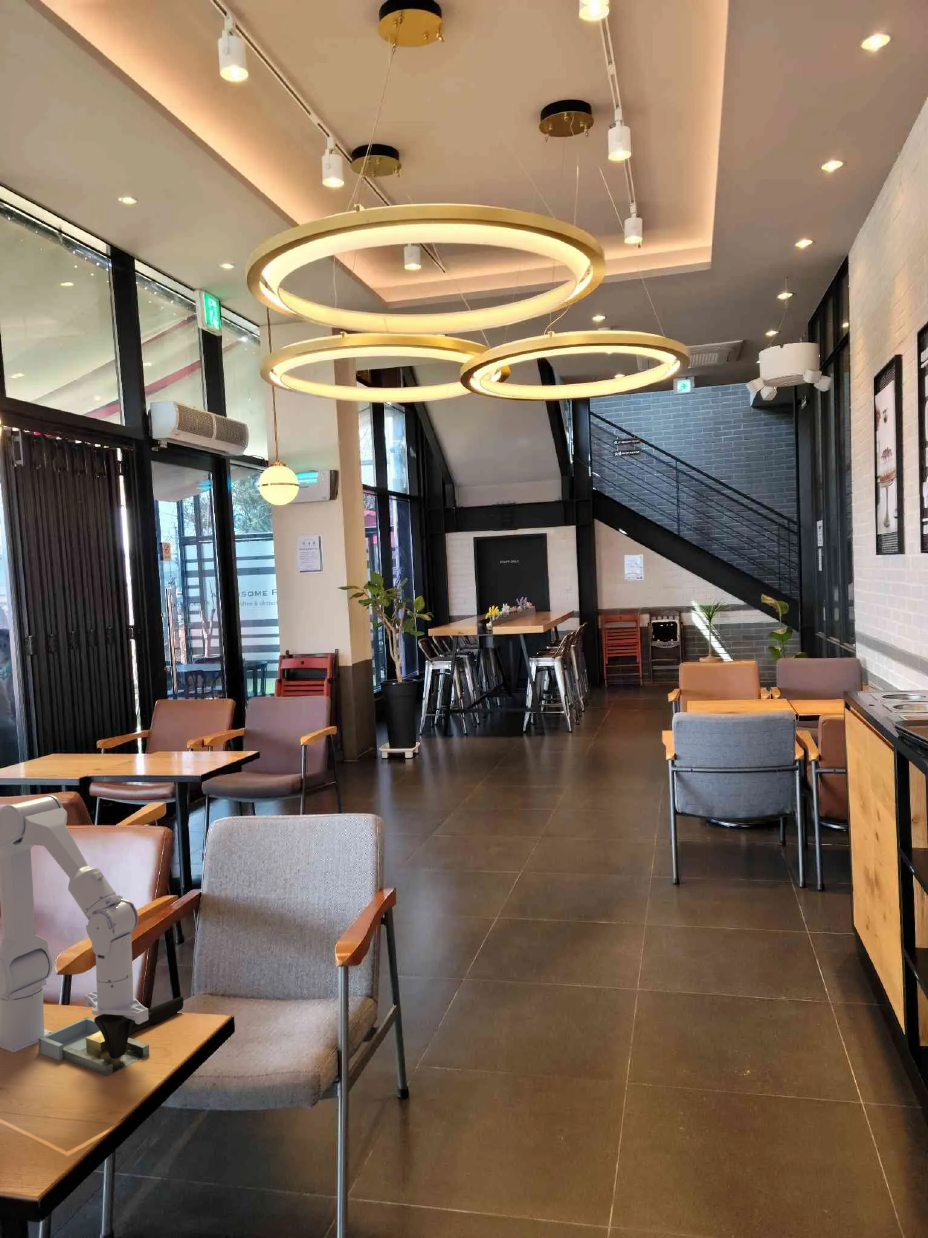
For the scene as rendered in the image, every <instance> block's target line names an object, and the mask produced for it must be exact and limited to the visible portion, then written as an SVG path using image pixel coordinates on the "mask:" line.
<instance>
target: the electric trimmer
mask: <svg viewBox="0 0 928 1238" xmlns="http://www.w3.org/2000/svg"><path fill="white" fill-rule="evenodd" d="M183 1008H184V997H183V996H178V997H175V998H174V999H170V1000H168V1001H166V1002H163V1003H161V1004H158V1005H156V1006H153V1007H151V1008H148V1020H147V1021H145V1022H143V1023H141V1024H136V1023H135V1022H134V1024H133V1026H132V1029H131V1031H130V1034H129V1035H131V1034H133V1033H135V1032H137V1031H139V1030H141V1029H144V1028H147V1027H148V1026H151V1025H157V1024H160V1023H161V1022H163V1021H165V1020H166V1019H169V1018H170V1017H172V1016H173V1015H175V1014H177V1013H178V1012H180V1011H181V1010H183Z"/></svg>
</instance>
